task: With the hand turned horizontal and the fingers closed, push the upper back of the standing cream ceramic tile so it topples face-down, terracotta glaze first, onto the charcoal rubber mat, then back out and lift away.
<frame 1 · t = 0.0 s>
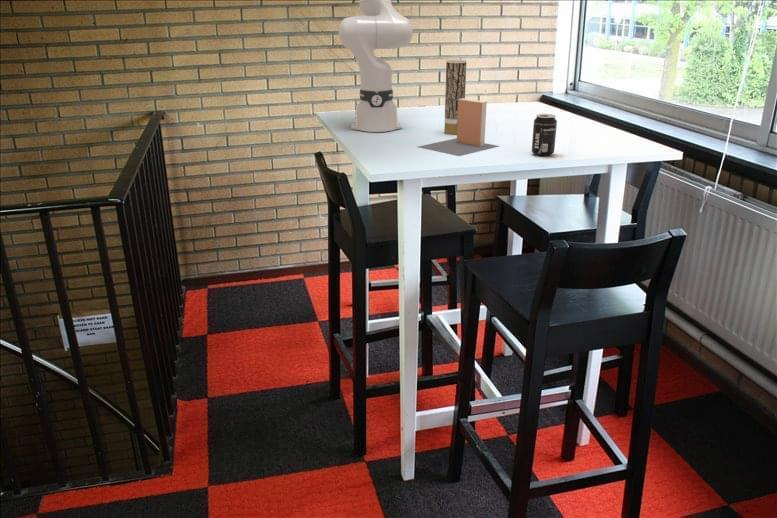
beverage can: (542, 155, 203), on the table
mat: (458, 147, 213), on the table
tile: (470, 143, 216), resting on mat
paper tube: (453, 134, 233), on the table
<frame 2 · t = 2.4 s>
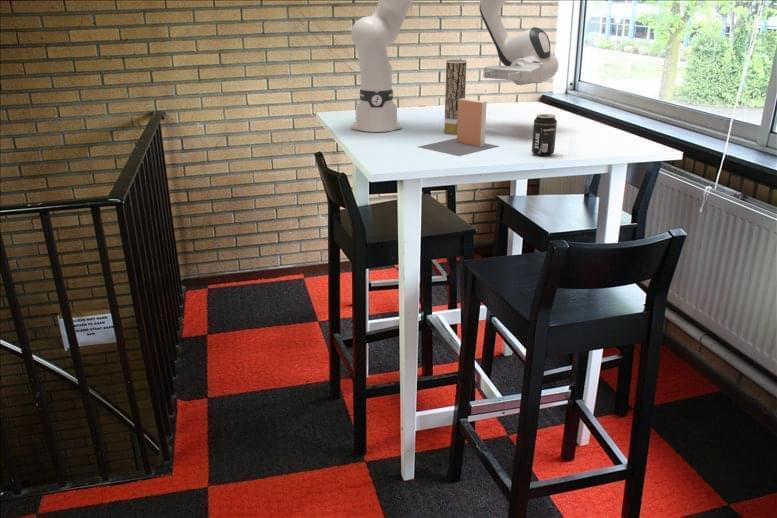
hand: (495, 75, 215), 21 cm above the table, tool horizontal, fingers open, 8 cm apart
nothing on the table moved.
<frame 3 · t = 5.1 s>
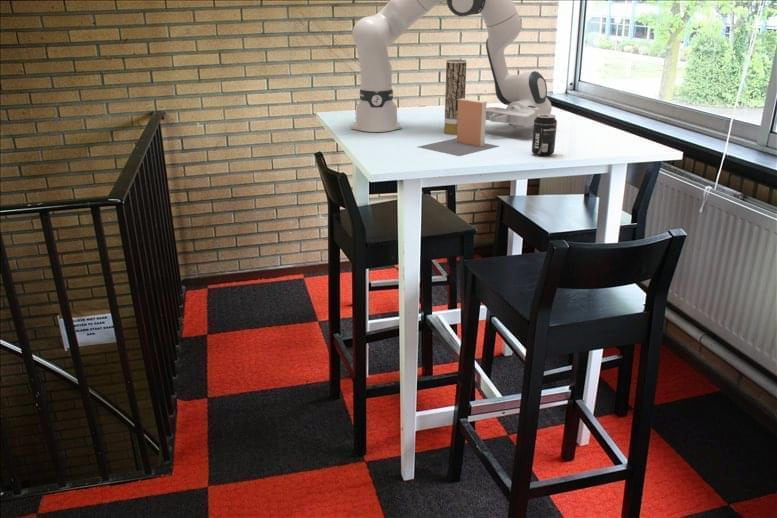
hand: (493, 119, 221), 7 cm above the table, tool horizontal, fingers closed
nothing on the table moved.
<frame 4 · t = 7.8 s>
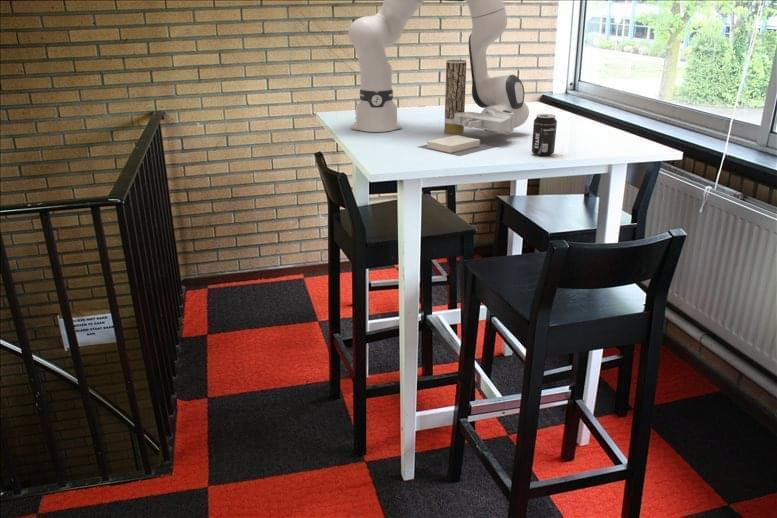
hand: (466, 124, 212), 7 cm above the table, tool horizontal, fingers closed
tile: (467, 140, 215), point 2 cm above the table, tilted 90°, touching mat
everything else where it was.
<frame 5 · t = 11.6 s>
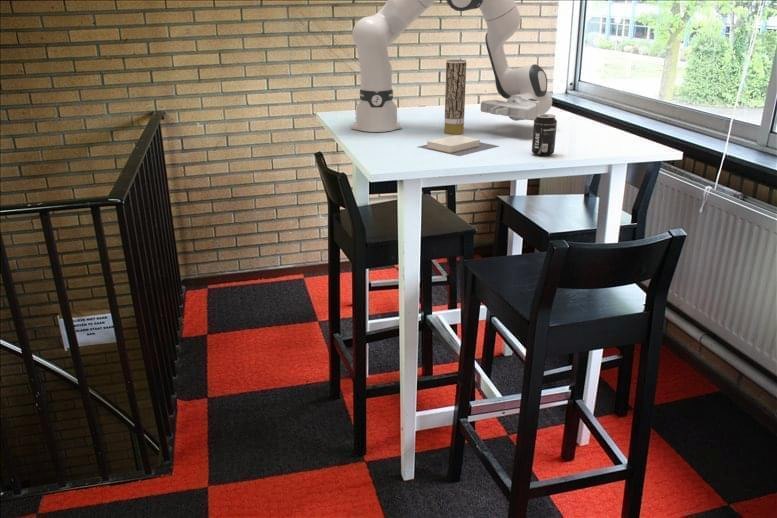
hand: (493, 111, 221), 9 cm above the table, tool horizontal, fingers closed
nothing on the table moved.
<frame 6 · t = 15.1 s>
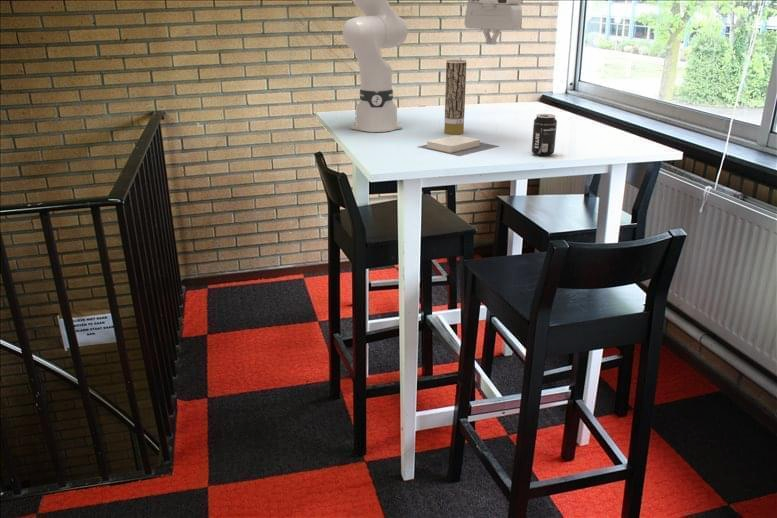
hand: (490, 44, 210), 31 cm above the table, tool pointing down, fingers closed
nothing on the table moved.
at the end: tile tilted 90°; tile touching mat; tile 4.5 cm from the mat (horizontally) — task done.
